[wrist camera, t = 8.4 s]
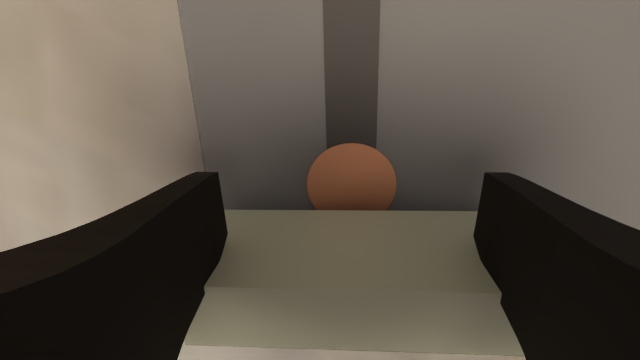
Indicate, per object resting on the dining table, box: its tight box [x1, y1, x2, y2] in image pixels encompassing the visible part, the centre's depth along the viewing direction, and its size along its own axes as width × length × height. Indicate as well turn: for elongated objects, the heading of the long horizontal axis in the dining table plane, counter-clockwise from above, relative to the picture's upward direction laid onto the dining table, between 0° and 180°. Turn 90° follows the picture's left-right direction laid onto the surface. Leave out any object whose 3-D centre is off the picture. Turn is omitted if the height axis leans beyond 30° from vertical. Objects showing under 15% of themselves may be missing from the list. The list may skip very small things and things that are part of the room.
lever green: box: [185, 210, 525, 356], centre depth 12 cm, size 2×9×4 cm, turn 92°
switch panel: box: [177, 0, 640, 230], centre depth 13 cm, size 16×24×2 cm, turn 92°
